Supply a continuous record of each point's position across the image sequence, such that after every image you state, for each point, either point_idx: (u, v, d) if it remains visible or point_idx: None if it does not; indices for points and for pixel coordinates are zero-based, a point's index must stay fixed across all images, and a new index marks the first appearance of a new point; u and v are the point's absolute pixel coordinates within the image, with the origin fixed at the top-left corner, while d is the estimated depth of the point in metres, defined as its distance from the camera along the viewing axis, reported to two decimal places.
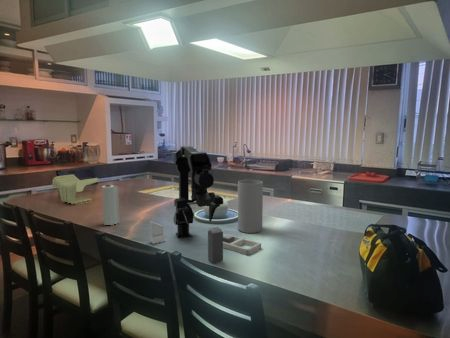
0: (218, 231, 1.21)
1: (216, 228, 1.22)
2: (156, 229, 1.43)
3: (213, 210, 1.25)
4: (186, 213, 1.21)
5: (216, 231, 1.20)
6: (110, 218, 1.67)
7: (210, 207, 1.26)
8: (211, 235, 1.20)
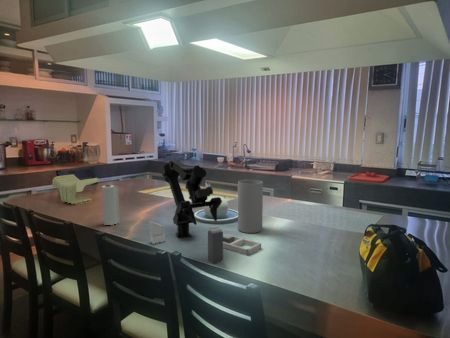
0: (218, 231, 1.21)
1: (216, 228, 1.22)
2: (156, 229, 1.43)
3: (215, 209, 1.33)
4: (191, 213, 1.27)
5: (216, 231, 1.20)
6: (110, 218, 1.67)
7: (212, 210, 1.34)
8: (211, 235, 1.20)
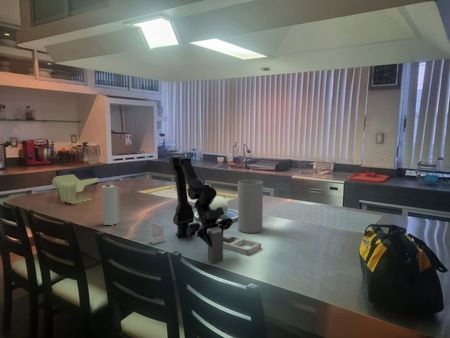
0: (218, 231, 1.21)
1: (216, 228, 1.22)
2: (156, 229, 1.43)
3: None
4: (206, 235, 1.21)
5: (216, 231, 1.20)
6: (110, 218, 1.67)
7: None
8: (211, 235, 1.20)
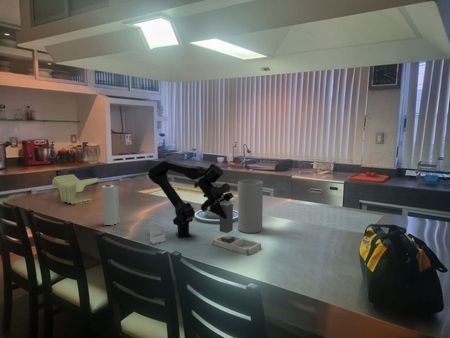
0: (230, 203, 1.36)
1: (226, 201, 1.38)
2: (156, 229, 1.43)
3: None
4: (220, 208, 1.35)
5: (229, 203, 1.36)
6: (110, 218, 1.67)
7: None
8: (225, 208, 1.35)
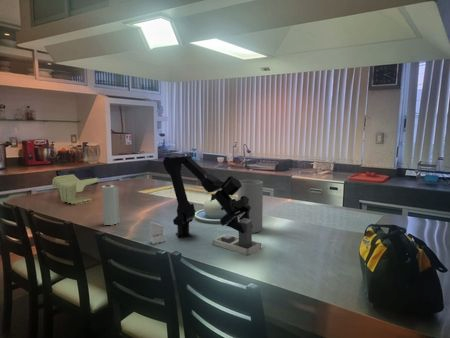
0: (249, 221, 1.33)
1: (245, 219, 1.35)
2: (156, 229, 1.43)
3: (248, 217, 1.38)
4: (238, 222, 1.30)
5: (248, 221, 1.33)
6: (110, 218, 1.67)
7: None
8: (245, 226, 1.32)
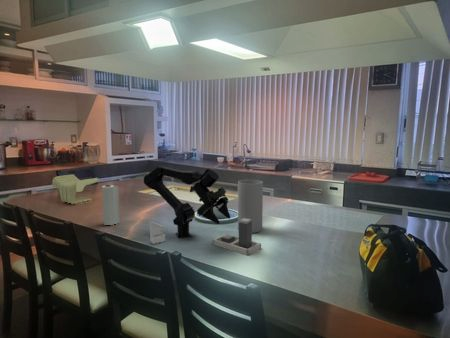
0: (249, 221, 1.33)
1: (245, 219, 1.35)
2: (156, 229, 1.43)
3: (226, 208, 1.45)
4: (213, 213, 1.35)
5: (248, 221, 1.33)
6: (110, 218, 1.67)
7: (222, 209, 1.46)
8: (245, 226, 1.32)
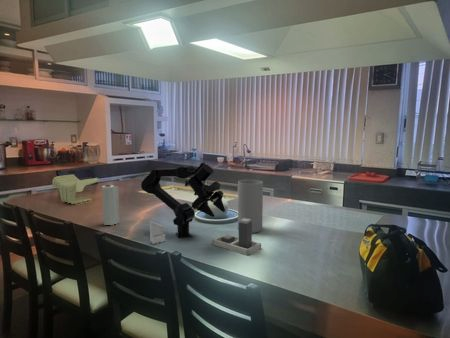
0: (249, 221, 1.33)
1: (245, 219, 1.35)
2: (156, 229, 1.43)
3: (221, 201, 1.46)
4: (208, 206, 1.37)
5: (248, 221, 1.33)
6: (110, 218, 1.67)
7: (217, 203, 1.47)
8: (245, 226, 1.32)
